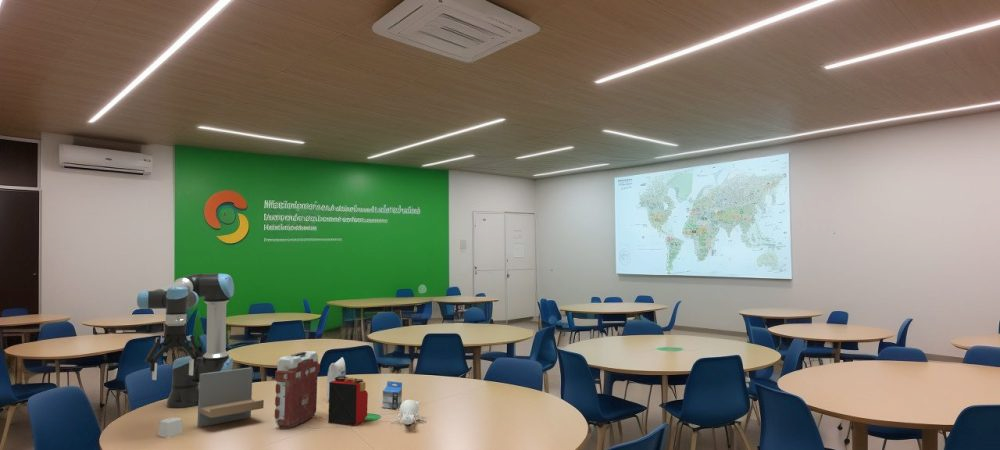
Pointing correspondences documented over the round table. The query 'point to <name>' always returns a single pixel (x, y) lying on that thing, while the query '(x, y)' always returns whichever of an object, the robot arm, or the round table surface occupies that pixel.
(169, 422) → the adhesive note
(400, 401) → the label tape cartridge
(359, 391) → the radio
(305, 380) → the first aid kit
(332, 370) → the pouch
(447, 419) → the round table surface
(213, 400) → the board
